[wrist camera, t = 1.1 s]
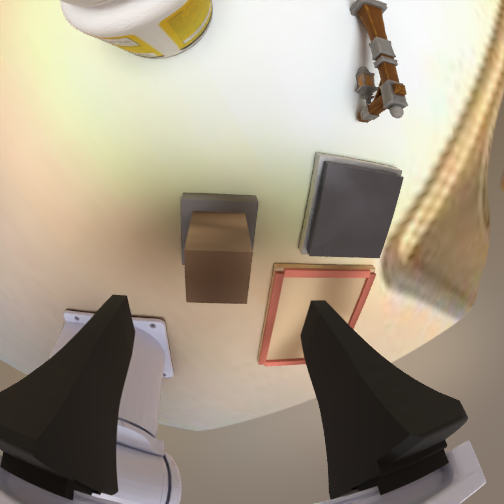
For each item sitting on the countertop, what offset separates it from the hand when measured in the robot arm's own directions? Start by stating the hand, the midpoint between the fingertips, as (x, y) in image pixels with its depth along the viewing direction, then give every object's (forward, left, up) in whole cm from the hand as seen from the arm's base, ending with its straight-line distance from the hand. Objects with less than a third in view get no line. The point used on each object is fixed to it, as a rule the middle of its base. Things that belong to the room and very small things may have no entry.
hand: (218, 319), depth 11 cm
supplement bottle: (-4, +13, -8) cm, 16 cm away
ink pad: (+8, +2, -8) cm, 12 cm away
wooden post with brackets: (+8, +12, -9) cm, 17 cm away
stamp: (0, 0, -8) cm, 8 cm away
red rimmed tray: (+8, -8, -8) cm, 14 cm away
